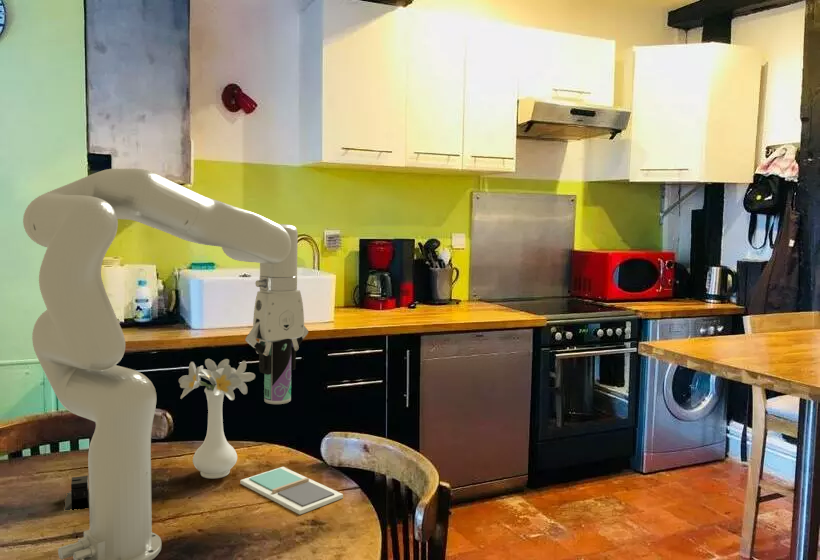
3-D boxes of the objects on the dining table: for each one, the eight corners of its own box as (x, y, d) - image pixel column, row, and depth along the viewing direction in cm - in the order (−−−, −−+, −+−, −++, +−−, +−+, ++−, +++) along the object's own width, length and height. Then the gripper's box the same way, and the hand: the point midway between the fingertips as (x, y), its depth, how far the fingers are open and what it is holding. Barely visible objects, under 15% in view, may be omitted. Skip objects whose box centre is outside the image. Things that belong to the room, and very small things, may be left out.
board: (299, 514, 132) (300, 507, 132) (240, 483, 145) (240, 476, 145) (343, 498, 140) (343, 490, 140) (282, 469, 153) (282, 463, 153)
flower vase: (260, 460, 158) (261, 353, 156) (221, 492, 140) (221, 372, 138) (209, 454, 161) (209, 349, 158) (164, 484, 143) (163, 367, 141)
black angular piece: (61, 492, 140) (61, 470, 139) (101, 487, 143) (100, 466, 142) (58, 518, 128) (57, 494, 128) (101, 512, 131) (100, 489, 131)
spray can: (284, 405, 141) (286, 308, 138) (259, 402, 142) (260, 306, 139) (294, 398, 146) (295, 304, 144) (270, 395, 147) (271, 303, 145)
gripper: (253, 289, 132) (253, 381, 134) (322, 283, 145) (321, 367, 147) (231, 285, 137) (231, 374, 139) (300, 280, 150) (299, 361, 152)
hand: (277, 370), depth 143 cm, fingers closed on spray can, 5 cm apart
